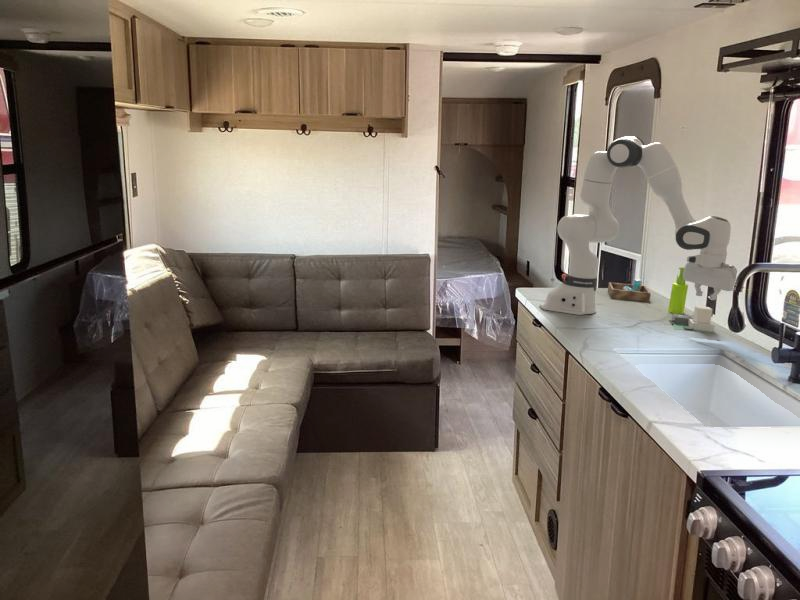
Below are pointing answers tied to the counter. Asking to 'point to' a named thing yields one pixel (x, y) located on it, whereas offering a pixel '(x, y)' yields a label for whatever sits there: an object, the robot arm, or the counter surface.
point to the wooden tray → (628, 292)
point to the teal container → (634, 286)
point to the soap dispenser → (678, 294)
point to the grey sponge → (679, 319)
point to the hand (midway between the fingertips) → (705, 297)
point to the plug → (702, 315)
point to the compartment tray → (695, 327)
